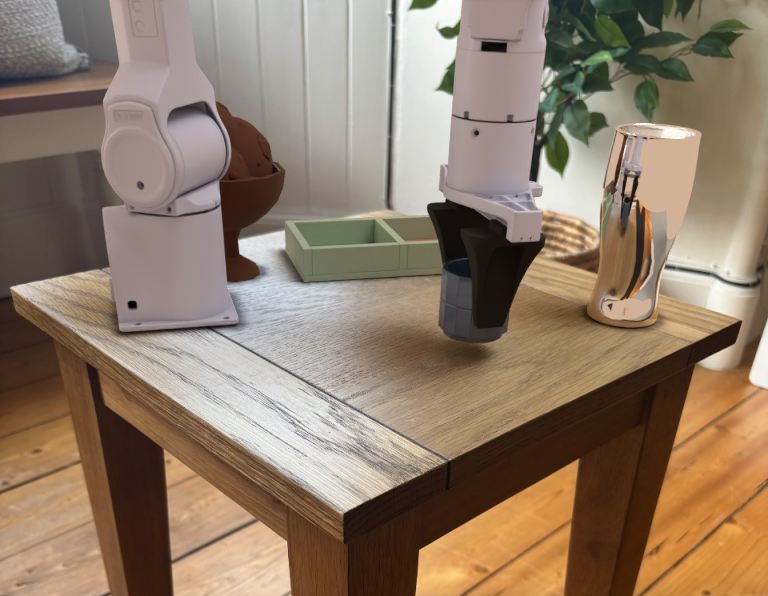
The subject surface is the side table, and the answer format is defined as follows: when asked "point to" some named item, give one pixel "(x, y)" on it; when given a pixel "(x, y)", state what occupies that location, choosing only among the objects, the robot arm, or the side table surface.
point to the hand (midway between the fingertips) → (474, 312)
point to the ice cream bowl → (245, 189)
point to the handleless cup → (462, 306)
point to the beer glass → (641, 218)
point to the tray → (363, 247)
